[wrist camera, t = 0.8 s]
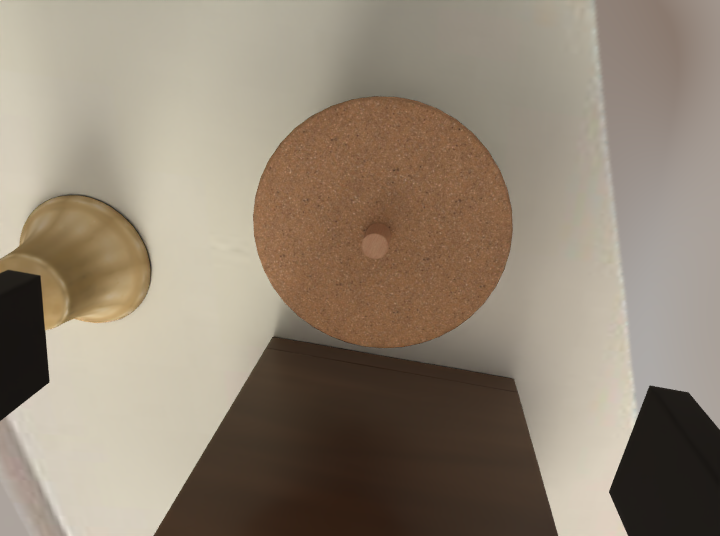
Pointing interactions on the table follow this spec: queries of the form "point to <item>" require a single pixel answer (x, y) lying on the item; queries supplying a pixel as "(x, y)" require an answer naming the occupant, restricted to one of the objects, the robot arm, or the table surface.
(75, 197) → the hand bell
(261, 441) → the bookshelf
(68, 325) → the table surface
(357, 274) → the trinket box
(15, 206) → the table surface
